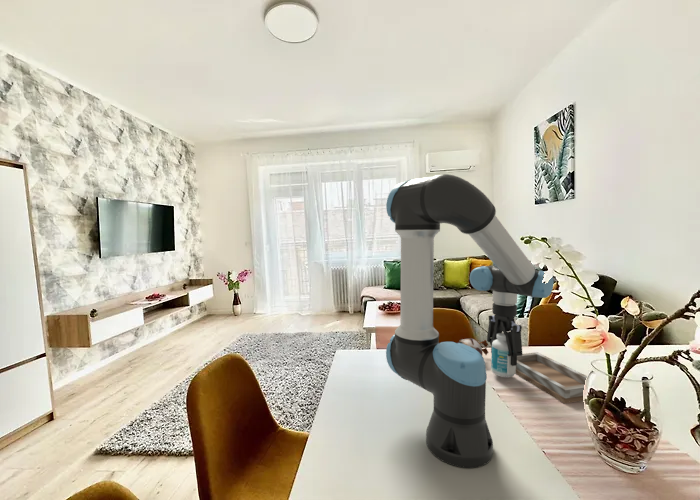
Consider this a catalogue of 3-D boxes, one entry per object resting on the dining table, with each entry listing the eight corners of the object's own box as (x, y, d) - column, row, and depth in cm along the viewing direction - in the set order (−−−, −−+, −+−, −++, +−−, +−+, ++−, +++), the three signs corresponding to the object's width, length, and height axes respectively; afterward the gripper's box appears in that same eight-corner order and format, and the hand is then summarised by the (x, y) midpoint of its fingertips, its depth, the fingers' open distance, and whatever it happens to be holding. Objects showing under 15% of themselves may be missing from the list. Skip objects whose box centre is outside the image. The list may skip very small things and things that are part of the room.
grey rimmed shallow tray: (605, 396, 98) (605, 384, 98) (563, 403, 95) (564, 390, 94) (538, 362, 123) (538, 352, 123) (503, 366, 120) (503, 356, 120)
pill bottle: (496, 378, 108) (497, 338, 107) (487, 368, 116) (488, 331, 115) (519, 378, 108) (520, 338, 107) (508, 368, 115) (509, 331, 115)
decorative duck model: (466, 353, 117) (438, 339, 130) (467, 372, 118) (438, 356, 131) (495, 342, 123) (465, 330, 137) (496, 361, 124) (466, 346, 138)
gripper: (537, 309, 101) (535, 381, 103) (495, 296, 121) (493, 356, 122) (516, 311, 100) (514, 383, 101) (477, 297, 119) (475, 358, 121)
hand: (503, 368), depth 112 cm, fingers closed on pill bottle, 7 cm apart
